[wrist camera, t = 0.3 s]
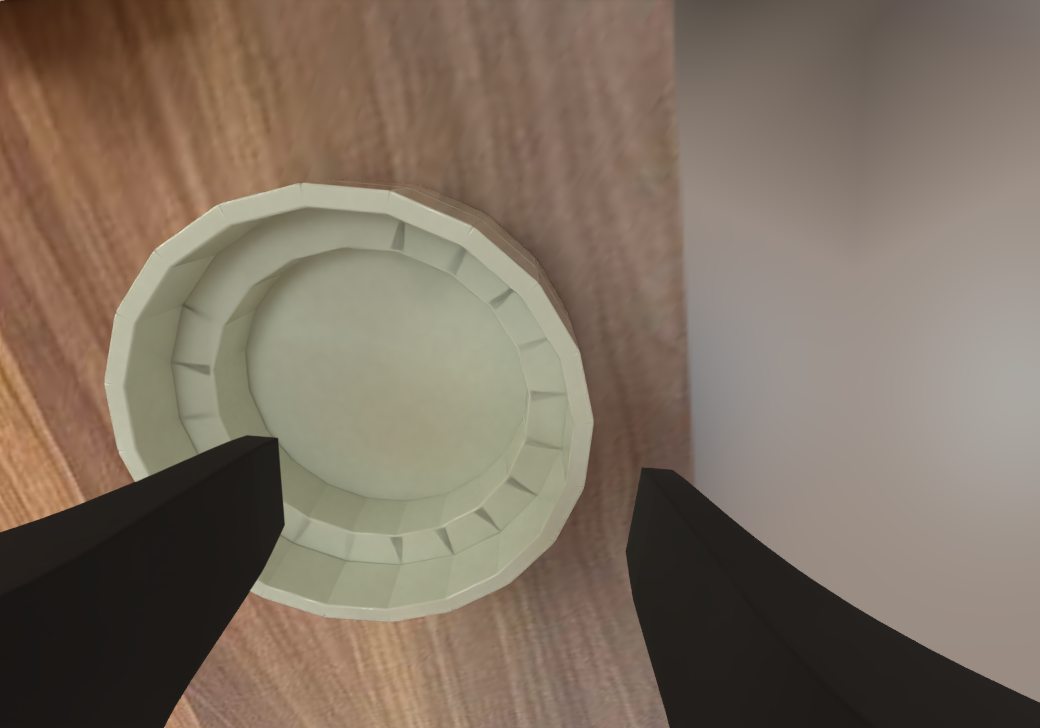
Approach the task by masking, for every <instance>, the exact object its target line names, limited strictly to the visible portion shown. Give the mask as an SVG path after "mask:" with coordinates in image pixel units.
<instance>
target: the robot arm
mask: <svg viewBox="0 0 1040 728" xmlns="http://www.w3.org/2000/svg"><path fill="white" fill-rule="evenodd" d="M284 526H285V520H284V507H283V494H282V481H281V468H280V456H279V443H278V438H275V437H263V436H251V435H246V436H243V437H240V438H237V439H234V440H231V441H229V442H226V443H224V444H221V445H219V446H216V447H214V448H212V449H209V450H207V451H205V452H202V453H200V454H198V455H196V456H193V457H191V458H189V459H187V460H184V461H182V462H180V463H178V464H175V465H173V466H171V467H168V468H166V469H164V470H162V471H159V472H157V473H155V474H153V475H150V476H148V477H146V478H143V479H141V480H139V481H136V482H134V483H131V484H129V485H126V486H124V487H121V488H119V489H117V490H114V491H112V492H109V493H107V494H104V495H102V496H99V497H97V498H94V499H92V500H89V501H87V502H85V503H82V504H80V505H77V506H75V507H72V508H69V509H67V510H64V511H61V512H59V513H56V514H53V515H50V516H47V517H45V518H42V519H39V520H36V521H33V522H30V523H27V524H24V525H21V526H18V527H15V528H12V529H9V530H6V531H3V532H0V728H164V726H165V724H166V723H167V721H168V719H169V717H170V715H171V713H172V711H173V710H174V708H175V706H176V704H177V703H178V701H179V699H180V698H181V696H182V695H183V693H184V691H185V690H186V688H187V686H188V685H189V683H190V681H191V680H192V678H193V677H194V675H195V674H196V672H197V671H198V669H199V668H200V666H201V665H202V663H203V662H204V660H205V659H206V657H207V656H208V654H209V653H210V651H211V650H212V648H213V646H214V645H215V643H216V642H217V640H218V639H219V637H220V636H221V634H222V633H223V631H224V630H225V628H226V627H227V625H228V624H229V622H230V621H231V619H232V618H233V616H234V615H235V613H236V612H237V610H238V609H239V607H240V606H241V604H242V603H243V601H244V600H245V598H246V596H247V595H248V593H249V592H250V590H251V589H252V587H253V586H254V584H255V583H256V581H257V579H258V578H259V576H260V575H261V573H262V571H263V570H264V568H265V566H266V564H267V562H268V560H269V558H270V556H271V554H272V552H273V550H274V548H275V545H276V543H277V541H278V539H279V537H280V534H281V532H282V530H283V528H284ZM626 556H627V563H628V570H629V577H630V583H631V589H632V595H633V600H634V604H635V608H636V611H637V615H638V618H639V622H640V625H641V629H642V632H643V636H644V639H645V643H646V646H647V650H648V653H649V656H650V660H651V663H652V667H653V670H654V674H655V677H656V680H657V684H658V687H659V691H660V694H661V698H662V701H663V704H664V708H665V711H666V715H667V719H668V723H669V727H670V728H1040V703H1039V702H1037V701H1035V700H1033V699H1030V698H1028V697H1026V696H1024V695H1022V694H1020V693H1018V692H1016V691H1014V690H1011V689H1009V688H1007V687H1005V686H1003V685H1001V684H999V683H997V682H995V681H992V680H990V679H988V678H986V677H984V676H982V675H980V674H978V673H976V672H974V671H972V670H970V669H968V668H965V667H964V666H962V665H959V664H958V663H956V662H954V661H952V660H950V659H948V658H946V657H944V656H942V655H940V654H938V653H936V652H934V651H932V650H930V649H928V648H927V647H925V646H923V645H921V644H919V643H917V642H916V641H914V640H912V639H910V638H908V637H907V636H905V635H903V634H901V633H899V632H898V631H896V630H894V629H892V628H890V627H889V626H887V625H885V624H883V623H881V622H880V621H878V620H876V619H874V618H873V617H871V616H869V615H868V614H866V613H864V612H863V611H861V610H859V609H858V608H856V607H854V606H853V605H851V604H849V603H848V602H846V601H845V600H843V599H842V598H840V597H839V596H837V595H836V594H834V593H832V592H831V591H829V590H828V589H826V588H825V587H823V586H821V585H820V584H818V583H817V582H815V581H814V580H812V579H811V578H809V577H808V576H807V575H805V574H803V573H802V572H801V571H799V570H798V569H796V568H795V567H794V566H792V565H791V564H790V563H788V562H787V561H785V560H784V559H783V558H781V557H780V556H779V555H777V554H776V553H775V552H773V551H772V550H771V549H769V548H768V547H767V546H765V545H764V544H763V543H761V542H760V541H759V540H757V539H756V538H755V537H754V536H752V535H751V534H750V533H749V532H747V531H746V530H745V529H744V528H742V527H741V526H740V525H739V524H737V523H736V522H735V521H734V520H733V519H732V518H730V517H729V516H728V515H727V514H725V513H724V512H723V511H722V510H721V509H720V508H718V507H717V506H716V505H715V504H714V503H712V502H711V501H710V500H709V499H708V498H707V497H705V496H704V495H703V494H702V493H700V491H698V490H697V489H696V488H695V487H694V486H692V485H691V484H690V483H689V482H688V481H686V480H685V479H684V478H683V477H681V476H680V475H679V474H677V473H676V472H675V471H673V470H668V469H656V468H643V467H642V470H641V475H640V480H639V485H638V491H637V496H636V501H635V506H634V511H633V517H632V522H631V527H630V532H629V537H628V543H627V548H626Z"/></svg>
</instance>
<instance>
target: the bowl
mask: <svg viewBox="0 0 1040 728" xmlns="http://www.w3.org/2000/svg"><path fill="white" fill-rule="evenodd" d="M104 382H105V385H104V386H105V391H106V396H107V400H108V405H109V410H110V415H111V420H112V425H113V430H114V435H115V440H116V445H117V450H118V451H119V454H120V456H121V458H122V460H123V462H124V463H125V465H126V467H127V469H128V471H129V472H130V474H131V476H132V478H133V479H134V481H135V482H136V481H139V480H141V479H143V478H146V477H148V476H150V475H153V474H155V473H157V472H159V471H162V470H164V469H166V468H168V467H171V466H173V465H175V464H178V463H180V462H182V461H184V460H187V459H189V458H191V457H193V456H196V455H198V454H200V453H202V452H205V451H207V450H209V449H212V448H214V447H216V446H219V445H221V444H224V443H226V442H229V441H231V440H234V439H237V438H240V437H243V436H246V435H251V436H263V437H275V438H278V443H279V456H280V468H281V481H282V494H283V507H284V520H285V526H284V528H283V530H282V532H281V534H280V537H279V539H278V541H277V543H276V545H275V548H274V550H273V552H272V554H271V556H270V558H269V560H268V562H267V564H266V566H265V568H264V570H263V571H262V573H261V575H260V576H259V578H258V579H257V581H256V583H255V584H254V586H253V587H252V589H251V590H250V591H251V592H252V593H254V594H256V595H257V596H261V597H262V598H264V599H268V600H271V601H274V602H277V603H280V604H283V605H287V606H290V607H293V608H296V609H299V610H302V611H305V612H309V613H312V614H315V615H318V616H321V617H324V616H325V617H326V618H338V619H352V620H365V621H379V622H389V621H390V622H396V621H402V620H407V619H413V618H419V617H424V616H430V615H436V614H441V613H447V612H452V611H453V610H456V609H458V608H461V607H463V606H465V605H467V604H469V603H471V602H473V601H475V600H477V599H480V598H482V597H484V596H486V595H488V594H490V593H492V592H494V591H496V590H498V589H501V588H503V587H505V586H507V585H508V584H510V583H511V582H512V581H513V580H515V579H516V578H517V577H518V576H519V575H520V574H521V573H522V572H523V571H524V570H525V569H527V568H528V567H529V566H530V565H531V564H532V563H533V562H534V561H535V560H536V559H537V558H538V557H540V556H541V555H542V554H543V553H544V552H545V551H546V550H547V549H548V548H549V547H550V546H552V545H553V543H554V542H555V541H556V539H557V537H558V535H559V533H560V532H561V530H562V528H563V526H564V524H565V522H566V521H567V519H568V517H569V515H570V513H571V511H572V510H573V508H574V506H575V504H576V502H577V500H578V498H579V497H580V495H581V493H582V491H583V489H584V486H585V481H586V474H587V468H588V461H589V454H590V447H591V441H592V434H593V427H594V418H593V413H592V408H591V403H590V398H589V393H588V388H587V384H586V379H585V374H584V369H583V364H582V359H581V354H580V351H579V347H578V344H577V341H576V337H575V334H574V331H573V327H572V324H571V321H570V317H569V314H568V312H567V310H566V308H565V306H564V305H563V303H562V301H561V299H560V298H559V296H558V294H557V293H556V291H555V289H554V288H553V286H552V284H551V282H550V281H549V279H548V277H547V276H546V274H545V272H544V271H543V269H542V267H541V265H540V264H539V262H538V260H536V259H535V257H534V256H533V255H532V254H531V253H530V252H529V251H528V250H527V249H526V248H524V247H523V246H522V245H521V244H520V243H519V242H518V241H516V240H515V239H514V238H513V237H512V236H511V235H510V234H508V233H507V232H506V231H505V230H504V229H503V228H502V227H501V226H499V225H498V224H497V223H496V222H495V221H494V220H493V219H491V218H490V217H489V216H488V215H486V214H485V213H484V212H482V211H480V210H477V209H475V208H473V207H470V206H468V205H466V204H464V203H461V202H459V201H457V200H454V199H452V198H450V197H447V196H445V195H443V194H441V193H438V192H436V191H434V190H431V189H429V188H427V187H424V186H420V185H412V184H401V183H390V182H379V181H368V180H357V179H353V180H352V179H351V180H335V181H321V182H305V183H296V184H292V185H289V186H285V187H281V188H277V189H273V190H269V191H265V192H261V193H257V194H253V195H249V196H245V197H242V198H238V199H234V200H230V201H226V202H222V203H220V204H219V205H215V206H214V207H213V208H211V209H210V210H208V211H207V212H206V213H204V214H203V215H202V216H200V217H199V218H197V219H196V220H195V221H193V222H192V223H190V224H189V225H188V226H186V227H185V228H183V229H182V230H181V231H179V232H178V233H176V234H175V235H174V236H172V237H171V238H169V239H168V240H167V241H165V242H164V243H163V244H161V245H160V246H158V247H157V248H156V249H155V251H153V252H152V254H151V255H150V257H149V259H148V260H147V262H146V264H145V265H144V267H143V268H142V270H141V272H140V273H139V275H138V277H137V278H136V280H135V281H134V283H133V285H132V286H131V288H130V290H129V291H128V293H127V294H126V296H125V298H124V299H123V301H122V303H121V304H120V306H119V308H118V309H117V311H116V314H115V317H114V323H113V329H112V336H111V342H110V348H109V354H108V361H107V367H106V373H105V380H104Z"/></svg>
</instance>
